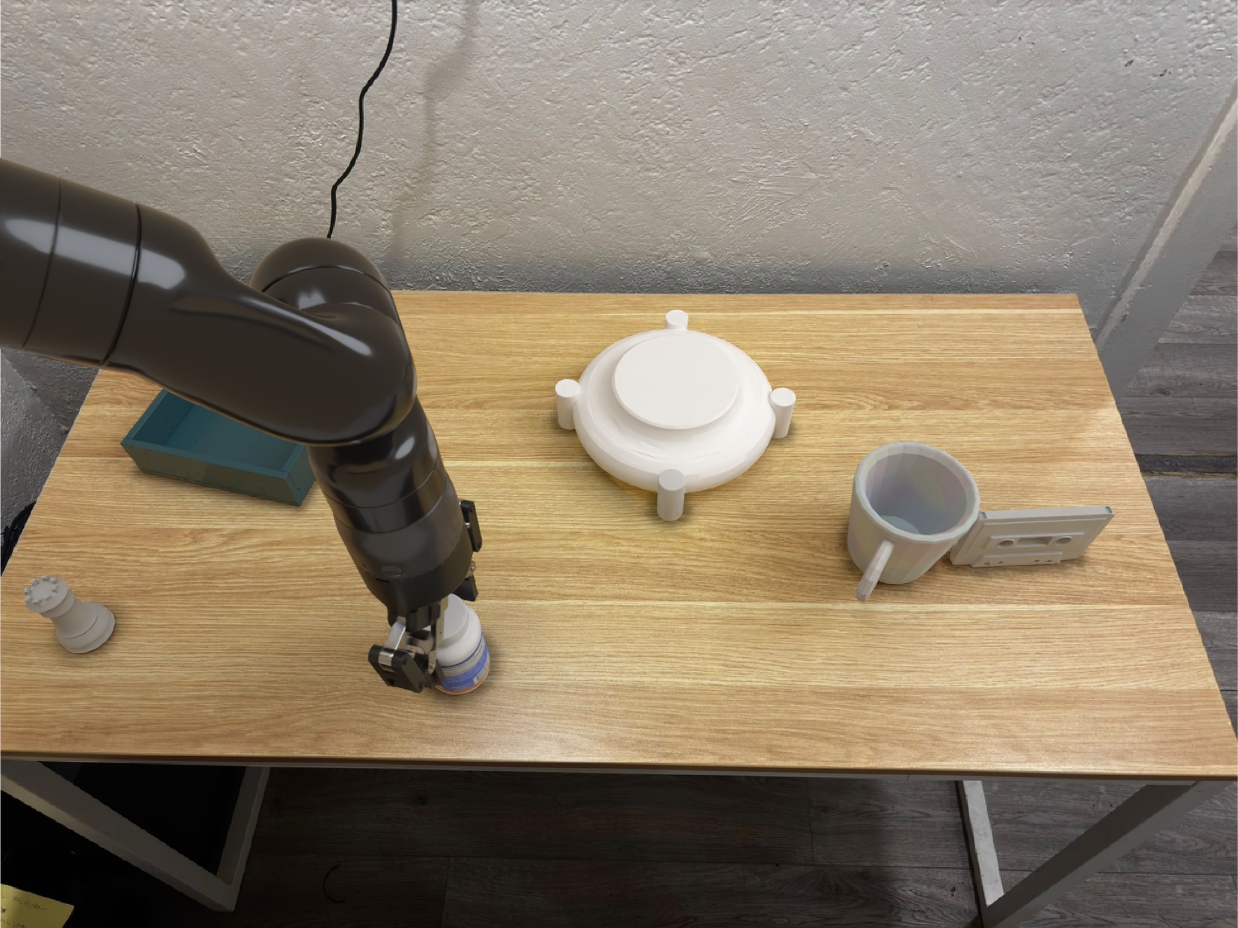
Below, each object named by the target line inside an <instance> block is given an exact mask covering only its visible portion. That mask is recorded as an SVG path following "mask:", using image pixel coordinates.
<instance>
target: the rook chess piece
mask: <svg viewBox="0 0 1238 928" xmlns="http://www.w3.org/2000/svg"><path fill="white" fill-rule="evenodd" d="M29 584H30V585H31V586H30V587H24V588H23V592H22V594H23V595H25V596H24V597H23V599H24V604H25V607H26V608H27V609H28V610H29V611H30V612H33V613H38V614H40V616H41V617H43V618H46V619H49V620H50V621H51V622H52V624H53V625H54V630H55V637H56V640H57V641H58V643H60V645H61V646H62V647H63V648H65V649H66V651H67V652H71V653H74V654H82V653H83V654H84V653H88V652H91V651H93V650H96V649H98V648H100V647H101V646H102V645H104V644H105V643H106V642H107V641H108V639H109V638H110V637H111V635H112V634H113V631H114V627H115V625H116V621H115V616H114V614H113V613H112V612H111V610H110V609H109V608H106V607H105V606H104V604H103V605H102V604H100V603H97V602H93V601H86V600H85V601H83V600H81V599H79V598H77V597H76V596H75V593H74V591H73V590H72V589H70V588H69V587H68V582H67V580H65V579H64V578H62V577H59V576H50V575H49V574H42V575H41V576H40V579H39V580H38V579H37V578H36V577H35V578H33V579H31V580H30V581H29Z"/></svg>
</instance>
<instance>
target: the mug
mask: <svg viewBox="0 0 1238 928" xmlns="http://www.w3.org/2000/svg"><path fill="white" fill-rule="evenodd" d="M980 496H981V495H980V491H979V486H978V485H977V483H976V480H975V479H974V478H973V475H972V473H971V472H970V470H968V469H967V468H966V466H964V464H963V463H961V462H960V460H958V459H957V458H956V457H954V456H953V455H951V454H949V453H947V452H946V451H944V450H943V449H941V448H939V447H936V446H933V445H929V444H926V443H923V442H919V441H918V442H917V441H904V440H900V441H895V442H888V443H883V444H881V445H880V446H878V447H876V448H873V449H872V450H870V451H869V452H868V453H867V454H866V455H865V456H864V457H863V458H862V460H861V461H859V462H858V464H857V466H856V469H855V473H854V476H853V480H852V488H851V498H850V509H849V520H848V526H847V527H848V528H847V538H846V542H847V551H848V553H849V555H850V559H851V560H852V562H853V563H854V565H855V566H856V567H857V568H858V569H859V570H860V572H862V573H863V575H862V577H861V579H860V581H859V583H858V585H857V587H856V590H855V596H854V598H855V599H856V600H857V601H858V602H860V603H865V602H866V601H867V600H869V598H870V597H871V595H872V593H873V591H874V590H875V588H876V586H877V583H878V582H880V583H883V584H887V585H888V584H889V585H904V584H908V583H912V582H914V581H916V580H917V579H919V578H921V577H922V576H924V575H925V574H926V572H928V571H929V569H931V568H932V567H933V566H934V565H935V564H936V563H937V562H938V561H939V560H940V559H941V558H942V557H943V556H944V555H945V554H946V553H947V552H948V551H950V549H951V548H952V547H953V546H955V545H956V544H957V542H958V541H959V539H960V538H961V537H962V536H963V535H964V534H966V533H967V531H968V530H969V529H970V528H971V526H972V525H973V524H974V522H975V521H976V520H977V517H978V512H979V511H980V507H981V504H982V503H981V497H980Z"/></svg>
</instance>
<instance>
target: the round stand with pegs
mask: <svg viewBox="0 0 1238 928" xmlns="http://www.w3.org/2000/svg"><path fill="white" fill-rule="evenodd" d="M688 328H689V314H688V313H687V312H686V311H684V310H681V309H672V310H670V311H669V310H668V312H667V313H666V314H665V316H664V328H661V329H651V330H647V331H642V332H638V333H635V334H632V335H629V336H626V337H624V338H622V339H619V340H618V341H616V342H613V343H612V344H611V345H609V346H607V347H606V348H604V350H602V351H601V352H599V353H598V354H597V355H596V356H595V357H594V358H592V360H591V361H590V362H589V364H587V366H586V367H585V369H584V370H583V372H582V373H581V375H580V377H579V378H578V380H577V381H576V380H575V379H572V378H564V379H561V380H559V381H558V382H557V383H556V384H555V386H554V393H555V403H556V411H557V423H558V424H559V426H560V427H561V428H562V429H564V430H568V431H570V430H575V432H576V435H577V438H578V440H579V442H580V444H581V446H582V447H583V449H584V450H585V452H586V453H587V454H588V455H589V457H590V458H591V459H592V460H593V461H594V462H595V463H596V464H597V465H598V466H599V467H600V468H601V469H602V470H604V471H605V472H606V473H608V474H609V475H611V476H612V477H614V478H616V479H617V480H619V481H621V482H623V483H625V484H627V485H630V486H632V487H636V488H638V489H641V490H645V491H650V492H655V493H657V501H656V502H657V503H656V513H657V515H658V517H659V518H660V519H661V520H663V521H665V522H675V521H678V520H679V519H680V518H681V517H682V516H683V512H684V502H685V494H690V493H691V494H692V493H698V492H703V491H704V492H705V491H708V490H711V489H714V488H718V487H721V486H723V485H725V484H727V483H730V482H731V481H733V480H735V479H737V478H738V477H740V476H741V475H742V474H743V475H744V473H745V472H747V471H748V470H749V469H750V468H752V466H754V465H755V464H756V463H757V461H758V460H759V459H760V458H761V457H762V455H763V454H764V453H765V451H766V450H767V448H768V446H769V445H770V442H771V441H772V439H777V440H778V439H782V438H785V437H786V436H787V435H788V433H789V429H790V424H791V421H792V416H793V412H794V408H795V404H796V400H797V396H796V394H795V392H794V391H793V390H792V389H790V388H787V387H777V388H775V389H773V388H772V386H771V383H770V382H769V379H768V378H767V376H766V374H765V373H764V371H763V370H762V368H761V367H760V365H758V364H757V363H756V362H755V361H754V359H752V358H751V357H750V356H749V355H748V354H747V353H745V352H744V351H743V350H742V349H740V348H738V347H737V346H735V344H732V343H730V342H729V341H726V340H724V339H722V338H721V337H717V336H714V335H713V334H709V333H708V334H707V333H705V332H702V331H696V330H691V329H688Z"/></svg>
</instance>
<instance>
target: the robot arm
mask: <svg viewBox="0 0 1238 928" xmlns="http://www.w3.org/2000/svg"><path fill="white" fill-rule="evenodd" d="M394 299H395V298H394V296H393V294H392V291H391V288H390V286H389V284H388V282H387V280H386V278H385V276H384V275H383V273H382V272H381V271H380V269H379V268H378V266H376V265H375V263H374V262H373V261H372V260H371V259H370V258H368V256H366V254H364V253H362V252H361V251H360V250H358V249H357V248H355V247H353V246H351V245H349V244H347V243H344V242H342V241H339V240H336V239H333V238H329V237H321V236H307V237H305V236H304V237H298V238H295V239H292V240H288V241H285V242H283V243H282V244H279V245H278V246H276V247H275V248H273V249H271V251H269V252H268V253H267V254H266V255H265V256H264V257H263V258H262V260H261V261H259V263H258V264H257V266H256V268H255V269H254V271H253V273H252V275H251V278H250V280H249V282H248V284H246V283H244V282H242V281H241V280H239V279H237V277H235V276H234V275H233V274H232V273H231V272H229V270H228V269H227V268H226V267H225V265H223V263H222V262H221V260H220V258H219V257H218V255H216V253H215V251H214V250H213V248H212V246H211V244H210V243H209V242H208V240H207V238H206V237H205V236H204V235H203V233H201V231H200V230H199V229H198V228H196V227H195V226H194V225H193V224H191V223H190V222H188V221H186V220H185V219H182V218H180V217H178V216H176V215H173V214H171V213H169V212H166V211H164V210H161V209H158V208H156V207H153V206H150V205H147V204H144V203H142V202H138V201H133V200H132V199H129V198H126V197H123V196H120V195H118V194H114V193H112V192H108V191H106V190H102V189H99V188H96V187H92V186H90V185H87V184H85V183H81V182H78V181H75V180H73V179H72V180H71V179H69V178H66V177H62V176H58V175H56V174H54V173H50V172H47V171H44V170H41V169H38V168H34V167H31V166H28V165H26V164H22V163H19V162H16V161H13V160H11V159H7V158H3V157H1V156H0V350H3V351H8V352H12V353H18V354H23V355H27V356H32V357H37V358H43V359H46V360H52V361H57V362H62V363H66V364H72V365H76V366H82V367H85V368H86V367H87V368H91V369H94V368H97V370H102V371H107V372H108V371H109V372H113V373H121V374H127V375H130V376H134V377H137V378H139V379H142V380H143V381H146V382H148V383H151V384H152V385H154V386H157V387H159V388H160V389H165V390H167V391H169V392H171V393H173V394H175V395H177V396H179V397H181V398H183V399H185V400H187V401H190V402H192V403H194V404H197V405H199V406H202V407H204V408H207V409H209V410H212V411H214V412H216V413H218V414H221V415H223V416H225V417H228V418H230V419H232V420H235V421H237V422H239V423H242V424H244V425H246V426H249V427H251V428H253V429H256V430H258V431H261V432H263V433H266V434H269V435H271V436H274V437H277V438H280V439H283V440H287V441H290V442H294V443H298V444H303V445H305V446H306V451H307V455H308V459H309V462H310V466H311V469H312V471H313V474H314V476H315V478H316V479H315V481H316V483H317V484H318V485H317V486H318V487H319V489H320V490H321V492H322V494H323V496H324V499H325V500H326V502H327V504H328V507H329V508H330V509H331V513H332V517H333V519H334V524H335V527H336V530H337V533H338V534H339V537H340V539H341V541H342V543H343V545H344V547H345V548H346V550H347V552H348V554H349V556H350V558H351V560H352V562H353V563H354V566H355V568H356V570H357V571H358V573H359V576H360V577H361V579H362V580H363V583H364V584H365V587H366V588H367V589H368V591H369V592H370V594H371V595H372V596H374V598H376V599H377V600H378V601H379V602H380V603H381V604H382V605H384V606H385V608H386V612H387V613H386V615H387V616H386V617H387V618H386V619H387V623H388V625H389V627H391V628H390V630H389V632H388V635H387V637H386V640H385V642H384V643H381V644H376V643H374V644H372V645H371V647H370V649H369V650H368V653H367V662H368V663H369V664H370V666H371V667H372V668H373V669H374V671H375V673H376V674H377V675H378V676H379V677H380V678H381V680H382V681H383V682H384V684H385V685H386V686H387V687H391V688H397V689H401V690H406V691H409V692H411V693H413V694H419V695H420V694H421V693H422V692H423V691H424V688H428V689H431V690H434V689H435V688H436V687H435V686H436V685H438V686H441V685H442V684H443V681H444V679H445V675H444V672H443V670H442V668H441V666H440V663H439V661H438V659H436V650H437V647H438V645H439V644H440V643H441V641H442V640H443V637H444V612H445V611H446V609H447V608H448V595H450V594H454V595H456V596H458V597H459V598H460V599H461V600H462V601H467V602H470V603H475V602H476V601H477V598H478V595H479V590H478V587H477V583H476V578H475V575H474V574H475V572H476V568H477V567H476V565H477V564H476V560H473V556H474V553H480V551H481V549H482V547H483V538H482V533H481V528H480V527H481V526H480V523H479V519H478V513H477V509H476V504H475V501H473V500H471V499H464V498H459V497H458V494H457V491H456V488H455V485H454V482H453V481H452V479H451V476H450V475H449V473H448V471H447V469H446V467H445V464H444V461H443V458H442V454H441V451H440V447H439V444H438V440H437V438H436V435H435V432H434V430H433V427H432V425H431V423H430V420H429V418H428V416H427V414H426V412H425V410H424V407H423V405H422V403H421V401H420V399H419V396H418V393H417V390H418V375H417V367H416V362H415V359H414V355H413V352H412V350H411V347H410V344H409V341H408V339H407V334H406V333H405V329H404V327H403V323H402V320H401V317H400V314H399V311H398V308H397V305H396V303H395V300H394ZM430 625H431V630H430V631H429V630H425V629H423V628H426V627H428V626H430ZM412 647H414V648H415V647H419V648H422V649H423V651H424V654H421V653H417V651H413V649H412Z"/></svg>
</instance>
